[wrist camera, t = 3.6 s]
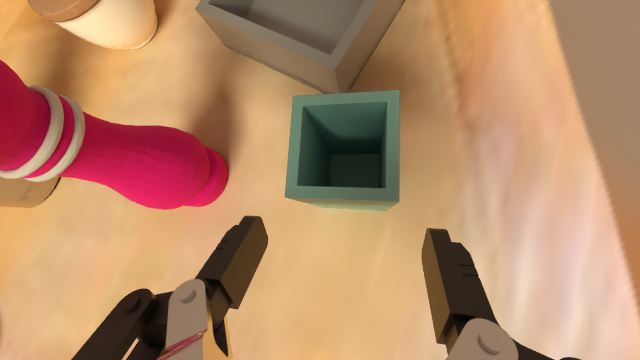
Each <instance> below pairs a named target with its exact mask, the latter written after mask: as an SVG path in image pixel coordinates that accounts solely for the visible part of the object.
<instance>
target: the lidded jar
mask: <svg viewBox="0 0 640 360" xmlns="http://www.w3.org/2000/svg"><path fill="white" fill-rule="evenodd" d="M28 2H29V4H30V6H31V7H32V9H33V10H34V11H35V12H36V13H38V14H40V15H41V16H43V17H45V18H46V19H48V20H50V21H53V22H55V23H56V24H58V25H59V26H61V27H62V28H64V29H66V30H68V31H69V32H71V33H73V34H75V35H76V36H78V37H80V38H82V39H84V40H86V41H89V42H91V43H93V44H96V45H99V46H102V47H106V48H111V49H130V50H135V49H139V48H141V47H143V46H144V45H146V44H147V43H148V42H149V41H150V40H151V39H152V38H153V36H154V34H155V32H156V30H157V26H158V18H157V16H156V12H155V5H154V1H153V0H28Z"/></svg>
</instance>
